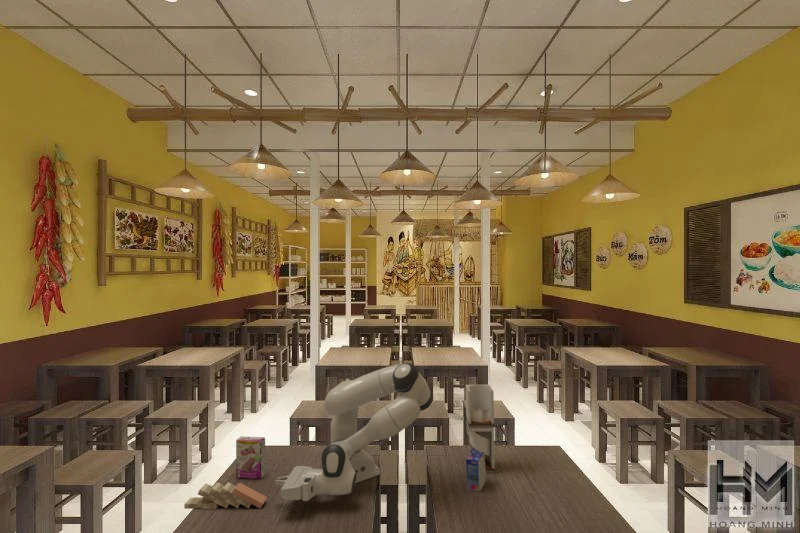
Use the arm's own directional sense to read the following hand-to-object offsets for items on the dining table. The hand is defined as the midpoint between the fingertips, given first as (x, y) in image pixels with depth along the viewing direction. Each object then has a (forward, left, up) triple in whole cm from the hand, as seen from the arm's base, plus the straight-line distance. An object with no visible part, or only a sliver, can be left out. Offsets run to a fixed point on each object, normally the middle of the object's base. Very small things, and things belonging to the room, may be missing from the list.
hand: (275, 481), depth 178 cm
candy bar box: (+3, -30, -9) cm, 32 cm away
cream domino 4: (+8, -4, -8) cm, 12 cm away
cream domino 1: (+19, -11, -8) cm, 23 cm away
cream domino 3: (+11, -7, -8) cm, 15 cm away
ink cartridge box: (-75, +24, -9) cm, 79 cm away
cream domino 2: (+15, -9, -8) cm, 19 cm away
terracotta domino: (+4, -2, -8) cm, 9 cm away
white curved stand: (-87, +11, -9) cm, 88 cm away
